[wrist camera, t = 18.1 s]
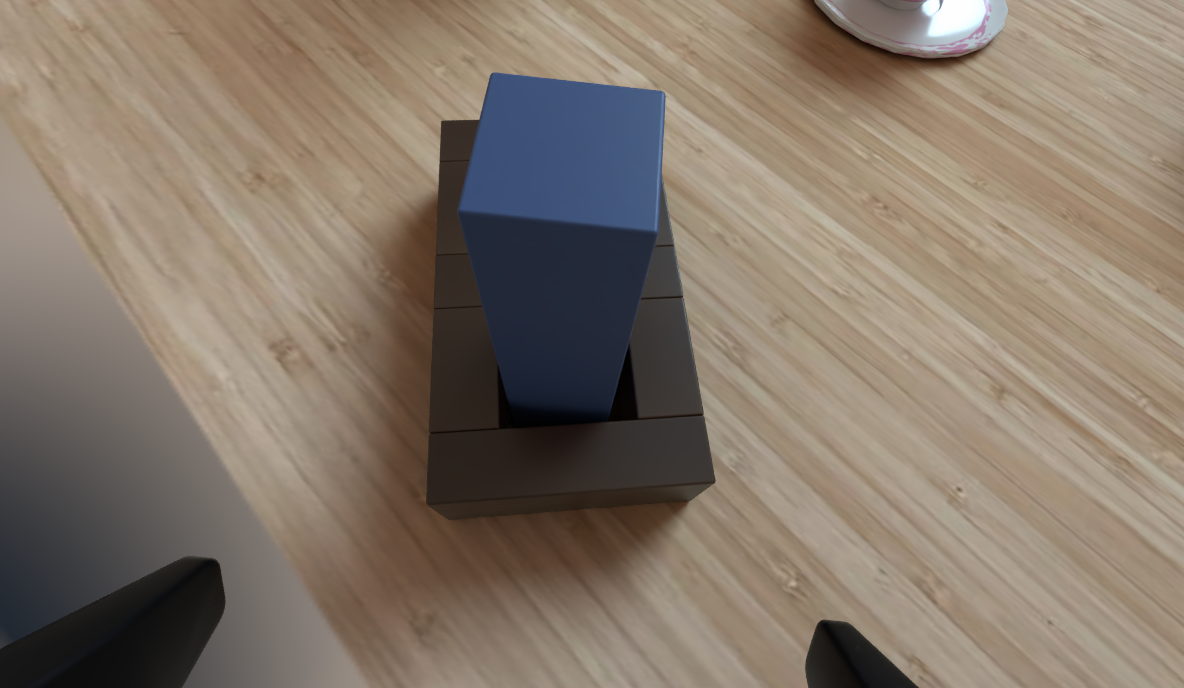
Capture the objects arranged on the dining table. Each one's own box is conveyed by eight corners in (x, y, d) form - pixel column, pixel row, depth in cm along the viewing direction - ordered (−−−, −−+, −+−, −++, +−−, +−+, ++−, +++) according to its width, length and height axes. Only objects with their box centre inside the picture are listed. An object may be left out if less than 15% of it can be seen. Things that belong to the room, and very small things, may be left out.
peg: (603, 439, 21) (658, 234, 9) (514, 429, 21) (455, 212, 9) (610, 357, 22) (666, 89, 11) (527, 348, 22) (490, 69, 10)
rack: (691, 500, 20) (716, 483, 17) (447, 520, 19) (425, 505, 16) (641, 173, 26) (652, 115, 23) (455, 178, 26) (440, 120, 23)
